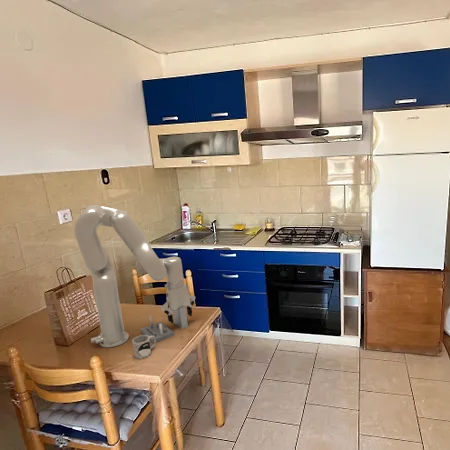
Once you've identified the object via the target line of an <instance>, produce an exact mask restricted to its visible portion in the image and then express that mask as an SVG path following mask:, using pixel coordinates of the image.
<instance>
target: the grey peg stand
mask: <svg viewBox="0 0 450 450" xmlns="http://www.w3.org/2000/svg"><path fill="white" fill-rule="evenodd" d="M148 317H149V325H148V326H145V327H142V328H140V333H141V334H142V335H147V336H153V335H154V336H155V339H156V343H158V342H161V341H163V340H166V339H169V338H172V337H174V336H175V334H174V332H173V331H172V330H171V329H170V328H168V326H167V325H165V324H164V323H163V322H161V321H160V322H157V323H154V321H153V315H149V316H148ZM150 343H151V344H153V338H152V339H150Z"/></svg>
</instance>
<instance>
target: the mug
mask: <svg viewBox="0 0 450 450" xmlns="http://www.w3.org/2000/svg"><path fill="white" fill-rule="evenodd" d="M152 338H153V343H151V341H150V339H152ZM131 341H132V349H133V353H134V358H135V359H146V358H148V357H150V355H152V349H154V347H155V346H156V345H157V342H156V339H155V336H154V335H153V336H147V335H144V334H141V335H138V336H135V337H134V338H132V340H131Z"/></svg>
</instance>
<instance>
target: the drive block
mask: <svg viewBox="0 0 450 450" xmlns="http://www.w3.org/2000/svg"><path fill="white" fill-rule="evenodd" d="M172 316H173V323H174V324H175V326H177V327H179V328H180V329H181V330H183V329H185V328H188V327H189V324H188V317H187V316H188V314H187V307H185V306H182V307H179V308H178V310H175V311H173V312H172Z"/></svg>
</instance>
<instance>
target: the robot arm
mask: <svg viewBox="0 0 450 450" xmlns="http://www.w3.org/2000/svg"><path fill="white" fill-rule="evenodd" d="M99 226H104V227H107V228H109V227H110V228H112V229H113V230H114V232H116V234H117V235H118V236H119V238H120V239H121V240H122V241H123V243H124V245H126V248H128V250H129V252H131V254H132V255H133V256H134V257H135V258H136V260H137V261H138V263H139V264H140V265H141V267H142V268H143V269H144V270H145V272H146V273H147V274H148V276H149V277H150V279H152V280H154V281H157V282H160V281H163V280H164V279H165V278H166V284H164V287H165V288H166V302H165V303H164V304H163V305H161V306H160V309H161V311H162V312H163V313H165V314H166V315H167V320H168V322H169V323H171V324H173V323H174V316H173V311H175V310H178V308H179V307H182V306H185V308H186V314H187V316H189V317H192V316H193V305H194V304H195V301H196V296H194V295H192V294H191V295H190V292H189V290H188V289H189V288H188V286H187V284H186V283H185V278H184V273H183V272H184V271H183V263H182V259H181V257H178V256H169V257H166V258H159V257H158V255H157V253H156V252H155V251H154V249H153V248H152V245H150V242H149V241H148V238H147V237H146V236H145V235H144V233H143V231H141V229H140V228H139V226H138V225H137V224H136V222H135V221H134V219H132V217H131V216H130V214H129V213H128V212H127V211H125V210H122V209H117V208H113V207H107V206H103V205H100V204H99V205H98V204H91V205H87V206H86V208H85V209H84V210H83V211H82V213H81V214H80V215H79V216H78V218H77V219H76V221H75V224H74V230H73V231H74V236H75V239H76V242H77V245H78V248H79V250H80V254H81V256H82V259H83V261H84V264H85V266H86V268H87V269H88V270H90V273H91V276H92V277H93V278H92V279H93V280H92V289H93V295H94V300H95V305H96V310H97V314H98V321H99V326H100V332H99V334H98V335H97V336H95V337H91V338H90V342H91V344H92V343H95V344H99V346H100V347H103V348H113V347H118V346H120V345H123V344H124V343H126V342H127V341H128V340H129V339H130V338H129V337H130V335H129V332H126V331H125V327H124V321H123V316H122V315H123V313H122V307H121V302H120V295H119V290H118V283H117V277H116V272H115V269H114V267H113V263H112V261H111V258H110V256H109V253H108V251H107V249H106V248H105V247H104V246H103V245H102V244H101V239H100V237H99V235H98V232H97V231H98V227H99ZM166 308H167V309H166Z"/></svg>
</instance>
